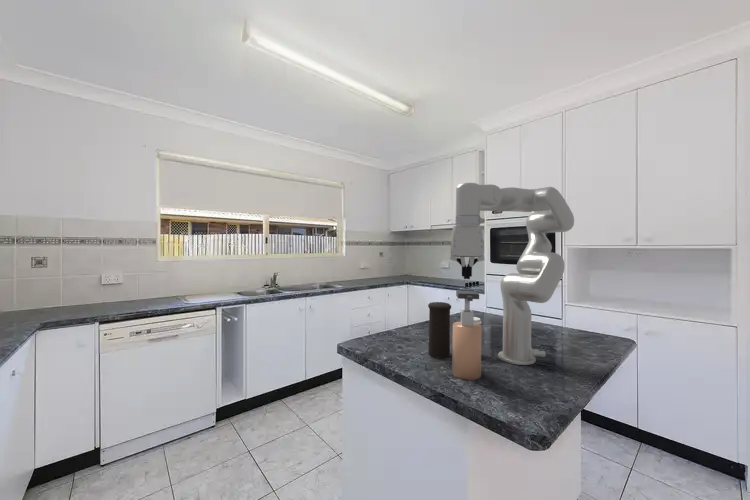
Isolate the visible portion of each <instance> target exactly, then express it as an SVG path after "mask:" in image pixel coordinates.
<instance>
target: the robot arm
mask: <svg viewBox="0 0 750 500" xmlns="http://www.w3.org/2000/svg"><path fill="white" fill-rule="evenodd" d="M455 190H456V191H455V226H452V230H451V231H452V232H451V235H450V236H451V239H450V257H449V259H450V260H451V261H454V262H457V263H458V264H459V265H460V266H461V277H463V279H464V280H470V278H471V277H472V276H473V267H474V266H475V264H477V263H478V262H483V261H485V241H484V231H483V226H482V225H481V224H483V223H484V224H485V222H486V221H485V218H481V215H480V214H481V212H482V211H483V212H488V211H489V212H516V213H517V212H518V213H519V212H520V213H530V214H528V216H527V217H526V221H525V227H526V231H527V236H528V243H527V244H526V247H525V249H524V250H523V252H522V254H521V255H520V257H519V258H518V260H517V263H516V271H517V273H516V272H515V273H514V272H512V273H508V274H506V275H504V276H503V277H502V278H501V280H500V291H501V292H500V293H501V297H502V306H503V309H502V310H503V313H502V350H501V351H499V352H498V353H497V355H498V359H500V360H501V361H503V362H506V363H508V364H512V365H518V366H519V365H520V366H528V365H529V366H531V365H534V364H535V363H536V360H537V357H543V358H545V357H546V351H545V350H540V349H534V348H532V310H531V307H530V305H529V302H531V303H536V304H545V303H547V302H548V301H550V299H551V298H552V296H553V294H554V293H555V291H556V289H557V287H558V285H559V284H560V281H561V279H562V278H563V275H564V273H565V272H564V271H565V260H564V258H563V257H562V256H561V254H559V253H556V252H552V249H553V246H552V243H551V241H550V240H549V239H548V237H547V236H546V233H547V234H548V233H565V232H569V231H571V230H572V229H573V227H574V225H575V216H574V214H573V211H572V210H571V208H570V206H569V204H568V203H567V202H566V200H565V198H564V197H563V195H562V193H561V192H560V191H559V190H558V189H556V188H555V187H553V186H547V187H545V186H544V187H540V188H534V189H533V188H532V189H529V188H522V187H521V188H520V187H499V186H498V185H495V184H490V183H489V184H478V183H476V182H463V183H460V184H458V185H457V186H456V189H455ZM466 258H468V263H467V264H466Z"/></svg>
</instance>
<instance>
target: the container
mask: <svg viewBox="0 0 750 500" xmlns="http://www.w3.org/2000/svg"><path fill="white" fill-rule="evenodd" d="M427 307H428V309H429V313H428V314H429V315H428V316H429V317H428V319H429V320H428V352H427V353H428V355H429V356H430V357H432V358H437V359H446V358H449V357H451V356H450V355H451V349H450V348H451V344H450V343H451V339H450V337H451V335H450V333H451V322H450V321H451V310H452V305H451V304H450V303H448V302H443V301H437V302H436V301H433V302H429V303H428V305H427Z"/></svg>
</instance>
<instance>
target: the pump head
mask: <svg viewBox="0 0 750 500" xmlns="http://www.w3.org/2000/svg"><path fill="white" fill-rule="evenodd" d="M455 295H456V298H457V299H459V300H461V299H462V300H464V310H465V312H470V308H471V303H470V302H473V301H474V300H480V293H478V292H477V290H475V291H474V290H456V291H455Z"/></svg>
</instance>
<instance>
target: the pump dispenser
mask: <svg viewBox="0 0 750 500" xmlns="http://www.w3.org/2000/svg"><path fill="white" fill-rule="evenodd" d="M474 317H475V314H474V311H473V310H472V309H471V310H470V312H465V309H460V321H456V322H453V323H452V357H451V358H452V359H451V360H452V361H451V362H452V365H451V367H452V368H451V371H452V372H451V373H452V375H453V376H455V377H456V378H459V379H462V380H468V381H471V380H472V381H473V380H478V379H480V378H481V377H482V328H483V327H482V324H481V325H480V324H477V323H474Z"/></svg>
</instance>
